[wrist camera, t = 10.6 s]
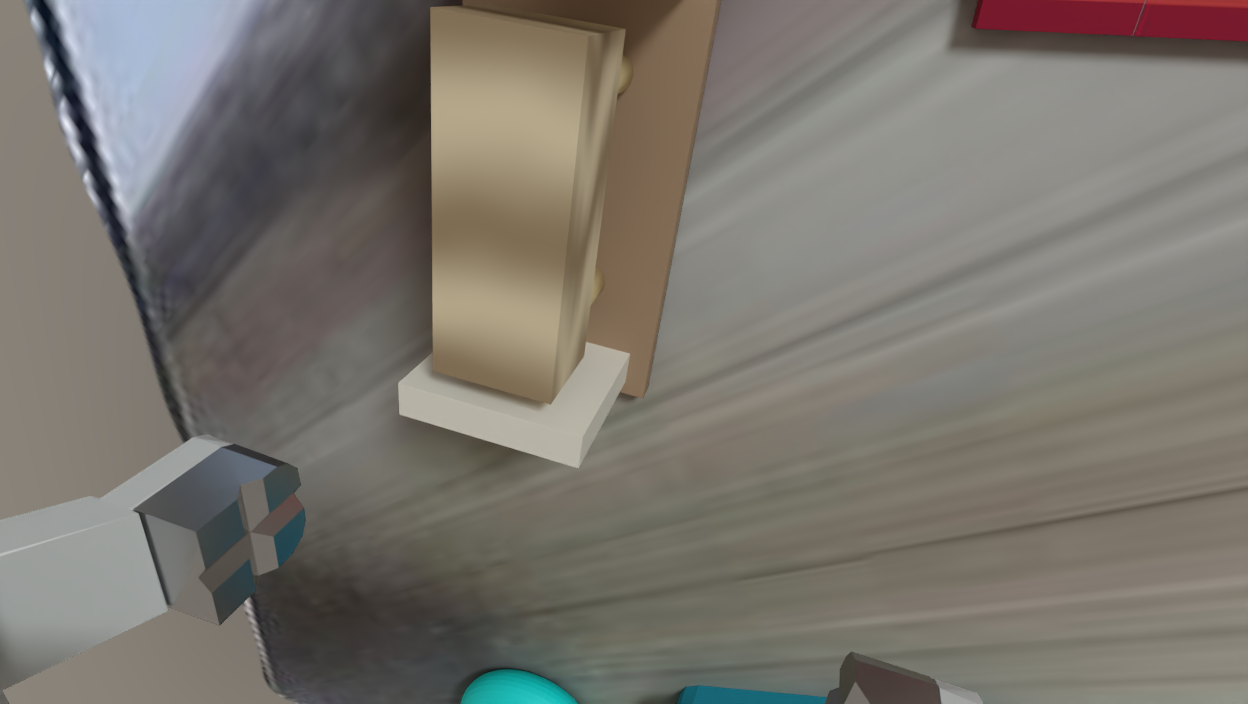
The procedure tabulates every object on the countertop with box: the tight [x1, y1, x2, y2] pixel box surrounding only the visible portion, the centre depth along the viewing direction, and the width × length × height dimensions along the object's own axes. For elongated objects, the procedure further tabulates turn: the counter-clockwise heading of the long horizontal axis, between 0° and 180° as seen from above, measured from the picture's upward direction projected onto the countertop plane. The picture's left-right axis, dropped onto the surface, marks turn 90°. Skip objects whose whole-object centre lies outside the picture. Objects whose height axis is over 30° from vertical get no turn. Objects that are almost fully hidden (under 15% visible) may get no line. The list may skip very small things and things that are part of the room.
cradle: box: [398, 0, 721, 468], centre depth 26 cm, size 20×10×8 cm, turn 172°
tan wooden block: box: [430, 4, 626, 405], centre depth 25 cm, size 13×5×4 cm, turn 172°
